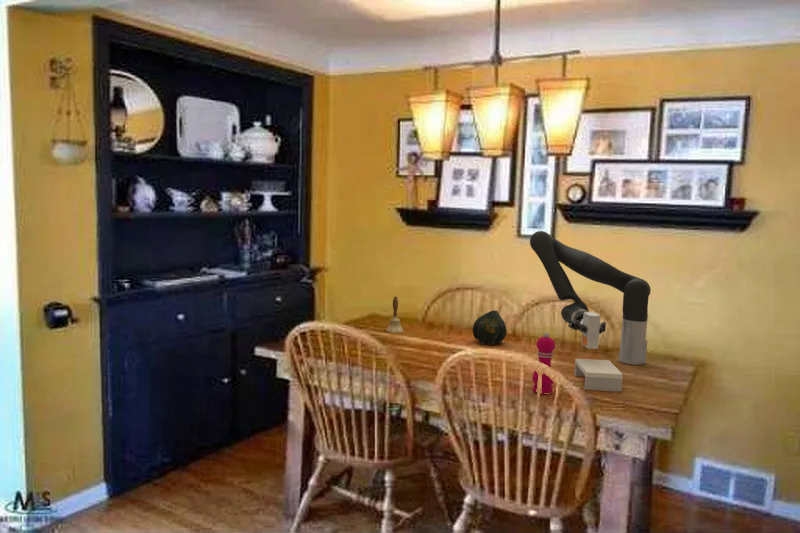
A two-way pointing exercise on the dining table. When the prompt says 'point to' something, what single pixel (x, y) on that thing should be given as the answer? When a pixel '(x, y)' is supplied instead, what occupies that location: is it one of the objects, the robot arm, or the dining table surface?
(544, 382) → the pepper mill
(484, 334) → the squash
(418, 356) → the dining table surface
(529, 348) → the dining table surface
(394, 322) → the hand bell
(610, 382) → the shelf bench
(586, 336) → the skincare box
